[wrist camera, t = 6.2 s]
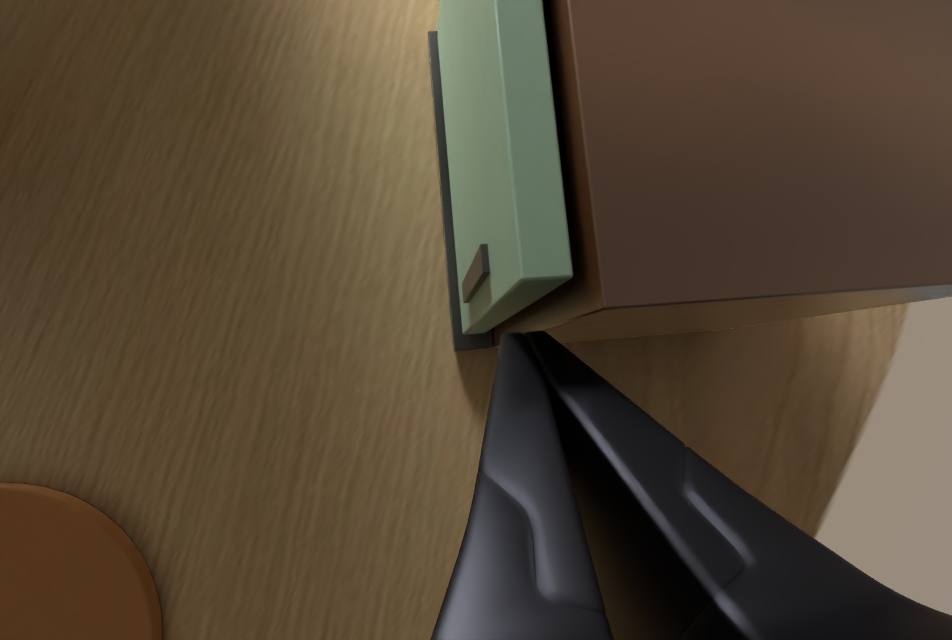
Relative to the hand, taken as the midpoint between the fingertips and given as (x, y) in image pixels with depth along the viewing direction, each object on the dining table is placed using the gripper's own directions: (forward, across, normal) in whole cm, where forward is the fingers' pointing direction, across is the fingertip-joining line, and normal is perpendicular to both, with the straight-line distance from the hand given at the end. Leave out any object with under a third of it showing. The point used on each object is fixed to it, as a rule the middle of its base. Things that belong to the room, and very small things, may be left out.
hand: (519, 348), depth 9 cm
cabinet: (+10, -5, +1) cm, 11 cm away
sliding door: (+9, 0, 0) cm, 9 cm away
